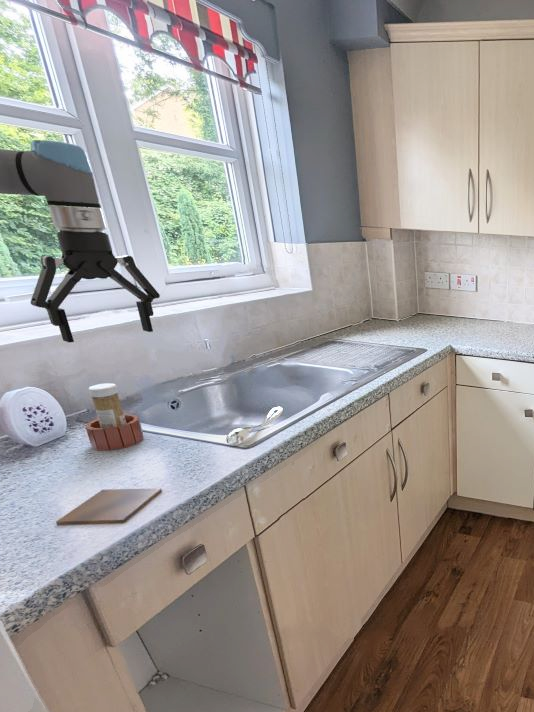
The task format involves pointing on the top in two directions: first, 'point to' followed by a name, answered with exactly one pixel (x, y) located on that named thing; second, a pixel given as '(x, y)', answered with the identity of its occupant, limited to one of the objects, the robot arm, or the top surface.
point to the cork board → (110, 506)
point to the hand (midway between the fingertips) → (110, 336)
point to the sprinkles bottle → (107, 405)
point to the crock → (115, 434)
